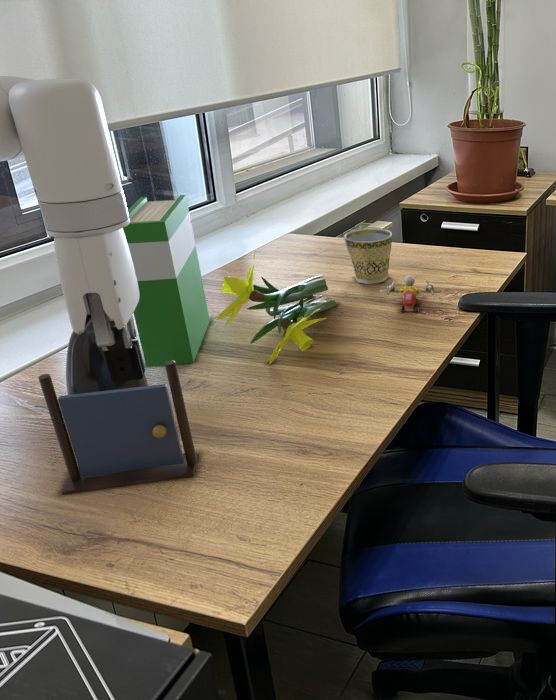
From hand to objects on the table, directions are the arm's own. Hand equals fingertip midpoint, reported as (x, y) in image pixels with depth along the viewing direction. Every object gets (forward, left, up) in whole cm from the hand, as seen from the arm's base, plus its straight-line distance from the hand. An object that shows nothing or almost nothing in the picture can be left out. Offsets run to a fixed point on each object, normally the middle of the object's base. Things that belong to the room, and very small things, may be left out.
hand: (129, 377), depth 78 cm
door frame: (-4, +5, -16) cm, 17 cm away
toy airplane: (+39, +52, -16) cm, 67 cm away
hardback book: (-3, +45, -16) cm, 48 cm away
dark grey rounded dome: (-9, +21, -16) cm, 28 cm away
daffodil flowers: (+16, +43, -16) cm, 49 cm away
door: (-4, +4, -15) cm, 16 cm away
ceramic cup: (+34, +70, -16) cm, 79 cm away
